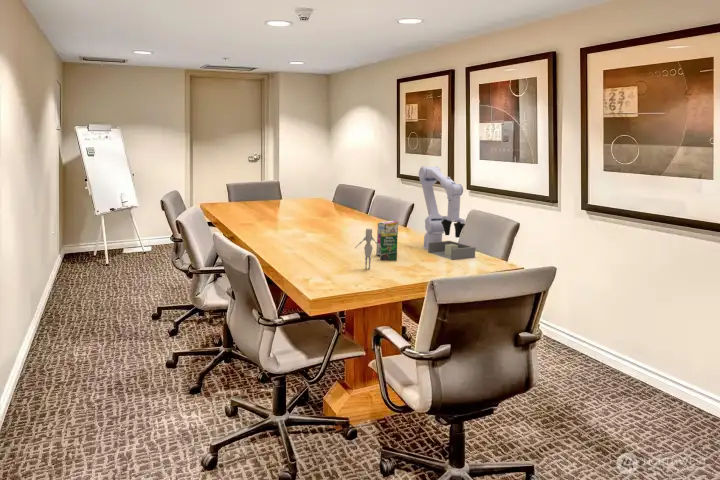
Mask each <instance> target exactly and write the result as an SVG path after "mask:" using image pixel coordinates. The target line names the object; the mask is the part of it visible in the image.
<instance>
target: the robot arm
mask: <svg viewBox="0 0 720 480" xmlns="http://www.w3.org/2000/svg"><path fill="white" fill-rule="evenodd" d="M418 178H419V182H420V185H421V186H422V192H423V196H424V201H425V205H426V210H427V214H428V216H427V217H426V218H425V220H424V222H425V223H424V226H425V227H424V228H425V231H426V233H425V234H424V237H423V247H421V248H422V249H426V250H428V244H429V243H430V242H441V241H443V234H445V235H444V236H450V232H451V227H452V223H453V226H454V237H455V238H460V237H461V233H462V231H463V229H464V227H465V226H466V223H465V221H466V219H464V218H461V217H460V208H461V196H462V195H463V192H464V188H463V185H462V184H461V183H457V182H455V181H454V180H453V179H452V178H451V176H445V175H444V174H443V173H442V171H441V168H440V167H439V166H421V167H420V168H419V171H418ZM437 182H440V186H441V187H442V188H443V189H444V190H445V191H446V192H445V193H446V198H447V215H441V214H440V213H439V209H438V205H437V201H436V197H435V192H434V188H433V186H434V185H435V184H436V183H437Z"/></svg>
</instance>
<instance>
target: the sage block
mask: <svg viewBox="0 0 720 480" xmlns="http://www.w3.org/2000/svg"><path fill="white" fill-rule="evenodd" d="M452 249H458V245H455V244H445V255H449V256H451V255H452Z"/></svg>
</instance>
